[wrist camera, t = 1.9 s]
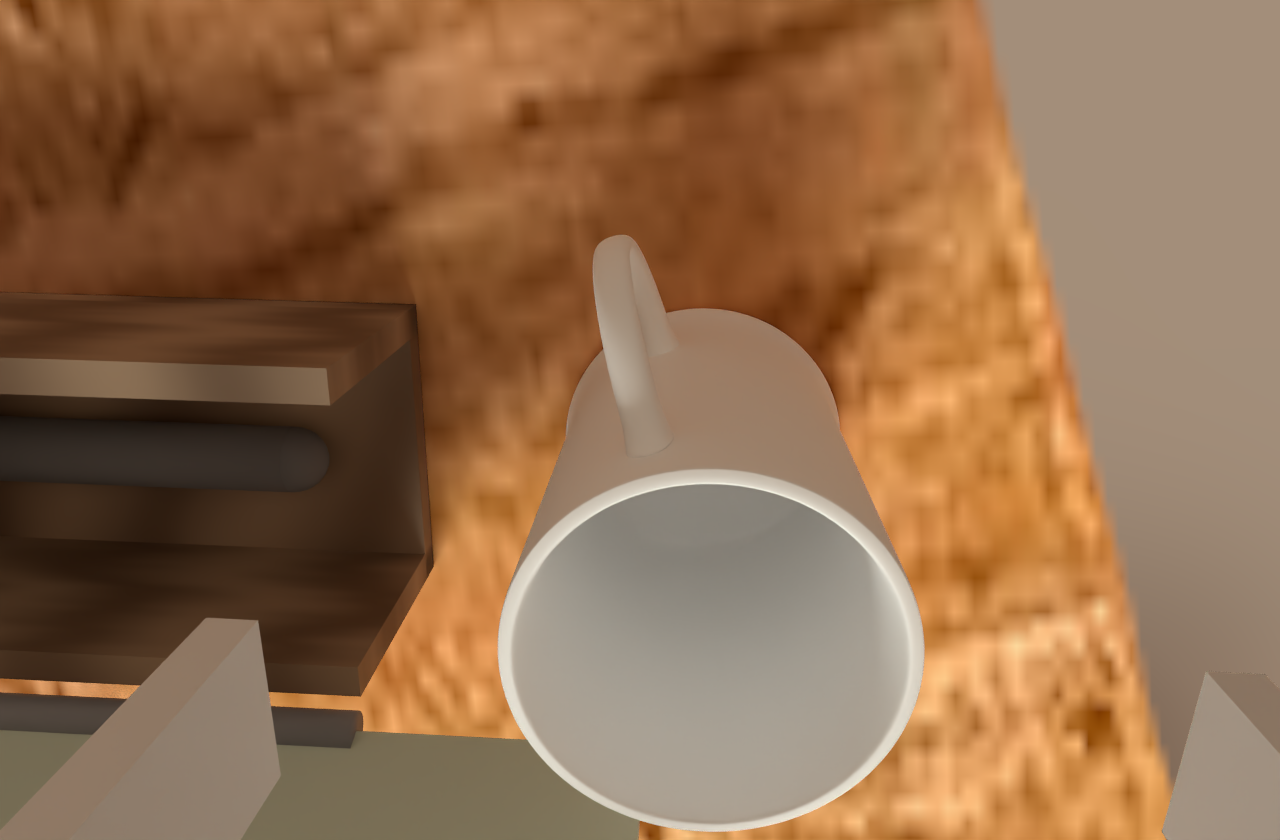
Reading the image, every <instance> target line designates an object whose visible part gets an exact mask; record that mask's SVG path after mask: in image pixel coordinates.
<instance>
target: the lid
mask: <svg viewBox="0 0 1280 840" xmlns="http://www.w3.org/2000/svg"><path fill="white" fill-rule="evenodd" d="M126 700H127V699H118V698H99V697H79V696H60V695H40V694H21V693H1V692H0V830H1V829H2V828H3V827H4V826H5V825H6V824H7V823H8V822H9V821H10V820H11V819H12V818H13V817H14V816H15V814H16V813H17V812H18V811H19V810H20V809H21V808H22V807H23V806H24V805H25V804H26V803H27V802H28V801H29V800H30V799H31V798H32V797H33V796H34V795H35V794H36V793H37V792H38V791H39V790H40V789H41V788H42V787H43V786H44V785H45V784H46V782H47V781H48V780H49V779H50V778H51V777H52V776H53V775H54V774H55V773H56V772H57V771H58V770H59V769H60V768H61V767H62V766H63V765H64V764H65V763H66V762H67V761H68V760H69V759H70V758H71V757H72V756H73V755H74V754H75V753H76V752H77V750H78V749H79V748H80V747H81V746H82V745H83V744H84V743H85V742H86V741H87V740H88V739H89V738H90V737H91V736H92V735H93V734H94V733H95V732H96V731H97V730H98V729H99V728H100V727H101V726H102V725H103V724H104V723H105V722H106V721H107V720H108V718H109V717H110V716H111V715H112V714H113V713H114V712H115V711H116V710H117V709H118V708H119V707H120V706H121V705H122V704H123V703H124V702H125V701H126ZM271 712H272V718H273V725H274V732H275V739H276V745H277V752H278V759H279V766H280V772H281V776H280V778H279V780H278V781H277V783H276V784H275V786H274V788H273V789H272V791H271V792H270V794H269V795H268V797H267V799H266V800H265V802H264V803H263V805H262V807H261V808H260V810H259V811H258V813H257V815H256V816H255V818H254V819H253V821H252V822H251V824H250V826H249V827H248V829H247V830H246V832H245V834H244V835H243V837H242V838H241V840H638V838H639V821H640V820H637V819H634V818H631V817H628V816H626V815H623V814H621V813H618V812H616V811H614V810H612V809H609V808H607V807H605V806H603V805H601V804H599V803H598V802H596V801H594V800H592V799H591V798H589V797H587V796H586V795H584V794H583V793H581V792H580V791H578V790H577V789H575V788H574V787H573V786H571V785H570V784H569V783H567V782H566V781H565V780H564V779H562V778H561V777H560V776H559V775H558V774H557V773H556V772H554V771H553V770H552V769H551V768H550V767H549V766H548V765H547V764H546V763H545V761H544V760H543V759H542V758H541V757H540V756H539V755H538V753H537V752H536V751H535V750H534V748H533V747H532V746H531V744H530V743H529V742H528V740H521V739H502V738H483V737H464V736H444V735H425V734H406V733H387V732H368V731H363V716H362V713H361V711H353V710H334V709H314V708H295V707H275V706H271Z"/></svg>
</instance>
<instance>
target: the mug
mask: <svg viewBox="0 0 1280 840" xmlns="http://www.w3.org/2000/svg"><path fill="white" fill-rule="evenodd" d="M593 285H594V295H595V303H596V310H597V316H598V322H599V328H600V334H601V339H602V344H603V350H602V351H601V352H600V353H599V354H598V355H597V356H596V357H595V359H594V360H593V361H592V362H591V364H590V365H589V366H588V368H587V369H586V371H585V373H584V374H583V376H582V378H581V379H580V381H579V383H578V385H577V388H576V390H575V392H574V395H573V398H572V401H571V404H570V408H569V412H568V418H567V425H566V439H565V441H564V444H563V447H562V449H561V452H560V454H559V457H558V460H557V462H556V465H555V468H554V470H553V473H552V475H551V478H550V481H549V483H548V486H547V488H546V491H545V494H544V496H543V499H542V502H541V504H540V507H539V509H538V512H537V515H536V517H535V520H534V523H533V525H532V528H531V530H530V533H529V536H528V538H527V541H526V543H525V546H524V549H523V551H522V554H521V557H520V559H519V562H518V564H517V567H516V570H515V572H514V575H513V578H512V580H511V583H510V586H509V589H508V592H507V595H506V598H505V601H504V605H503V609H502V613H501V618H500V624H499V633H498V662H499V670H500V676H501V681H502V685H503V689H504V693H505V696H506V699H507V702H508V704H509V707H510V709H511V712H512V714H513V716H514V718H515V720H516V722H517V724H518V726H519V727H520V729H521V731H522V733H523V734H524V736H525V737H526V739H527V740H528V742H529V743H530V744H531V746H532V747H533V748H534V750H535V751H536V752H537V753H538V755H539V756H540V757H541V758H542V759H543V760H544V761H545V763H546V764H547V765H548V766H549V767H550V768H551V769H552V770H553V771H554V772H556V773H557V774H558V775H559V776H560V777H561V778H562V779H564V780H565V781H566V782H567V783H569V784H570V785H571V786H573V787H574V788H575V789H577V790H578V791H580V792H581V793H583V794H584V795H586V796H587V797H589V798H591V799H592V800H594V801H596V802H598V803H599V804H601V805H603V806H605V807H607V808H609V809H612V810H614V811H616V812H618V813H621V814H623V815H626V816H628V817H631V818H634V819H637V820H640V821H644V822H647V823H651V824H655V825H659V826H664V827H669V828H675V829H682V830H691V831H708V832H719V831H737V830H746V829H753V828H758V827H764V826H768V825H772V824H776V823H780V822H783V821H787V820H790V819H793V818H796V817H798V816H801V815H804V814H806V813H808V812H811V811H813V810H815V809H817V808H819V807H821V806H823V805H825V804H827V803H829V802H831V801H832V800H834V799H836V798H837V797H839V796H841V795H842V794H844V793H845V792H847V791H848V790H849V789H851V788H852V787H854V786H855V785H856V784H857V783H859V782H860V781H861V780H862V779H863V778H865V777H866V776H867V775H868V774H869V773H870V772H871V771H872V770H873V769H874V768H875V767H876V766H877V765H878V764H879V763H880V762H881V761H882V760H883V758H884V757H885V756H886V755H887V754H888V752H889V751H890V750H891V748H892V747H893V746H894V744H895V743H896V741H897V740H898V738H899V737H900V735H901V733H902V732H903V730H904V728H905V726H906V724H907V722H908V720H909V718H910V716H911V714H912V711H913V709H914V706H915V704H916V701H917V697H918V694H919V690H920V686H921V681H922V676H923V668H924V635H923V628H922V622H921V617H920V612H919V609H918V605H917V602H916V599H915V596H914V593H913V591H912V588H911V586H910V583H909V581H908V578H907V576H906V574H905V572H904V569H903V567H902V565H901V563H900V561H899V558H898V556H897V554H896V552H895V550H894V547H893V545H892V543H891V541H890V539H889V537H888V534H887V532H886V530H885V528H884V526H883V523H882V521H881V519H880V517H879V515H878V512H877V510H876V508H875V506H874V504H873V501H872V499H871V497H870V495H869V493H868V491H867V488H866V486H865V484H864V482H863V480H862V477H861V475H860V473H859V471H858V469H857V466H856V464H855V462H854V460H853V458H852V455H851V453H850V451H849V449H848V447H847V444H846V442H845V440H844V438H843V436H842V434H841V431H840V423H839V416H838V411H837V407H836V403H835V400H834V397H833V394H832V392H831V389H830V387H829V385H828V383H827V381H826V379H825V377H824V375H823V374H822V372H821V370H820V369H819V367H818V366H817V364H816V363H815V362H814V360H813V359H812V358H811V357H810V356H809V355H808V353H807V352H806V351H805V350H804V349H803V348H802V347H801V346H800V345H799V344H797V343H796V342H795V341H794V340H793V339H792V338H790V337H789V336H788V335H786V334H785V333H783V332H782V331H780V330H779V329H777V328H775V327H774V326H772V325H770V324H768V323H766V322H764V321H762V320H759V319H757V318H754V317H752V316H749V315H746V314H742V313H738V312H734V311H729V310H722V309H712V308H695V309H684V310H678V311H673V312H668V313H666V311H665V309H664V306H663V303H662V300H661V297H660V294H659V292H658V289H657V286H656V283H655V281H654V278H653V276H652V273H651V271H650V268H649V266H648V264H647V262H646V259H645V257H644V255H643V253H642V251H641V249H640V248H639V246H638V244H637V243H636V242H635V240H634V239H633V238H631V237H630V236H628V235H615V236H612V237H609V238H606V239H605V240H603V241H601V242H600V243H599V244H598V245H597V247H596V249H595V252H594V257H593Z"/></svg>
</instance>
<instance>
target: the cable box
mask: <svg viewBox="0 0 1280 840" xmlns="http://www.w3.org/2000/svg"><path fill="white" fill-rule="evenodd" d="M0 416H16V417H44V418H71V419H99V420H127V421H155V422H182V423H210V424H238V425H265V426H293V427H303V428H306V429H309V430H311V431H313V432H315V433H316V434H317V435H319V436H320V437H321V438H322V439H323V441H324V443H325V444H326V446H327V448H328V452H329V458H330V459H329V467H328V470H327V472H326V474H325V476H324V477H323V478H322V480H321V481H320V482H319V483H318V484H316V485H315V486H314V487H312V488H310V489H308V490H305V491H301V492H269V491H244V490H219V489H193V488H168V487H143V486H118V485H92V484H67V483H42V482H17V481H0V678H4V679H24V680H43V681H63V682H83V683H103V684H123V685H141V684H142V683H143V682H144V681H145V680H146V679H147V678H148V677H149V676H150V675H151V674H152V673H153V672H154V671H155V670H156V669H157V668H158V667H159V666H160V665H161V664H162V663H163V662H164V661H165V660H166V659H167V658H168V657H169V656H170V654H171V653H172V652H173V651H174V650H175V649H176V648H177V647H178V646H179V645H180V644H181V643H182V642H183V641H184V640H185V639H186V638H187V637H188V636H189V635H190V634H191V633H192V632H193V631H194V630H195V629H196V628H197V627H198V626H199V625H200V624H201V622H202V621H203V620H204V619H205V618H222V619H241V620H258V624H259V630H260V637H261V644H262V651H263V657H264V664H265V671H266V678H267V684H268V691H269V692H282V693H302V694H322V695H342V696H361V695H362V693H363V691H364V690H365V688H366V686H367V684H368V683H369V681H370V679H371V677H372V675H373V674H374V672H375V670H376V668H377V666H378V665H379V663H380V661H381V659H382V658H383V656H384V654H385V652H386V650H387V649H388V647H389V645H390V643H391V642H392V640H393V638H394V636H395V634H396V633H397V631H398V629H399V627H400V626H401V624H402V622H403V620H404V618H405V617H406V615H407V613H408V611H409V610H410V608H411V606H412V604H413V602H414V601H415V599H416V597H417V595H418V594H419V592H420V590H421V588H422V586H423V585H424V583H425V581H426V579H427V578H428V576H429V574H430V572H431V570H432V569H433V567H434V566H433V551H432V536H431V522H430V507H429V492H428V478H427V463H426V448H425V434H424V419H423V404H422V389H421V375H420V360H419V345H418V331H417V316H416V304H384V303H350V302H316V301H282V300H248V299H214V298H180V297H146V296H112V295H78V294H44V293H10V292H0Z"/></svg>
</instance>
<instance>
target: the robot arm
mask: <svg viewBox="0 0 1280 840" xmlns="http://www.w3.org/2000/svg"><path fill="white" fill-rule="evenodd" d="M280 776H281V772H280V766H279V759H278V752H277V745H276V739H275V732H274V725H273V718H272V712H271V705H270V698H269V691H268V684H267V678H266V671H265V664H264V657H263V651H262V644H261V637H260V630H259V624H258V620H241V619H222V618H205V619H204V620H203V621H202V622H201V624H200V625H199V626H198V627H197V628H196V629H195V630H194V631H193V632H192V633H191V634H190V635H189V636H188V637H187V638H186V639H185V640H184V641H183V642H182V643H181V644H180V645H179V646H178V647H177V648H176V649H175V650H174V651H173V652H172V653H171V654H170V656H169V657H168V658H167V659H166V660H165V661H164V662H163V663H162V664H161V665H160V666H159V667H158V668H157V669H156V670H155V671H154V672H153V673H152V674H151V675H150V676H149V677H148V678H147V679H146V680H145V681H144V682H143V683H142V684H141V685H140V686H139V688H138V689H137V690H136V691H135V692H134V693H133V694H132V695H131V696H130V697H129V698H128V699H127V700H126V701H125V702H124V703H123V704H122V705H121V706H120V707H119V708H118V709H117V710H116V711H115V712H114V713H113V714H112V715H111V716H110V717H109V718H108V720H107V721H106V722H105V723H104V724H103V725H102V726H101V727H100V728H99V729H98V730H97V731H96V732H95V733H94V734H93V735H92V736H91V737H90V738H89V739H88V740H87V741H86V742H85V743H84V744H83V745H82V746H81V747H80V748H79V749H78V750H77V752H76V753H75V754H74V755H73V756H72V757H71V758H70V759H69V760H68V761H67V762H66V763H65V764H64V765H63V766H62V767H61V768H60V769H59V770H58V771H57V772H56V773H55V774H54V775H53V776H52V777H51V778H50V779H49V780H48V781H47V782H46V784H45V785H44V786H43V787H42V788H41V789H40V790H39V791H38V792H37V793H36V794H35V795H34V796H33V797H32V798H31V799H30V800H29V801H28V802H27V803H26V804H25V805H24V806H23V807H22V808H21V809H20V810H19V811H18V812H17V813H16V814H15V816H14V817H13V818H12V819H11V820H10V821H9V822H8V823H7V824H6V825H5V826H4V827H3V828H2V829H1V830H0V840H241V838H242V837H243V835H244V834H245V832H246V830H247V829H248V827H249V826H250V824H251V822H252V821H253V819H254V818H255V816H256V815H257V813H258V811H259V810H260V808H261V807H262V805H263V803H264V802H265V800H266V799H267V797H268V795H269V794H270V792H271V791H272V789H273V788H274V786H275V784H276V783H277V781H278V780H279V778H280ZM1162 833H1163V834H1164V836H1165V838H1166V839H1167V840H1280V689H1279V688H1278V687H1277V686H1276V685H1275V684H1274V683H1273V682H1272V681H1271V680H1270V679H1269V678H1268V677H1267V676H1266V675H1265V674H1250V673H1231V672H1212V671H1206V674H1205V677H1204V680H1203V684H1202V688H1201V692H1200V695H1199V699H1198V702H1197V706H1196V709H1195V713H1194V717H1193V720H1192V724H1191V728H1190V731H1189V735H1188V738H1187V742H1186V746H1185V750H1184V753H1183V757H1182V760H1181V764H1180V768H1179V772H1178V775H1177V778H1176V782H1175V786H1174V789H1173V793H1172V797H1171V800H1170V804H1169V808H1168V811H1167V815H1166V818H1165V822H1164V826H1163V829H1162Z"/></svg>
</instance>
